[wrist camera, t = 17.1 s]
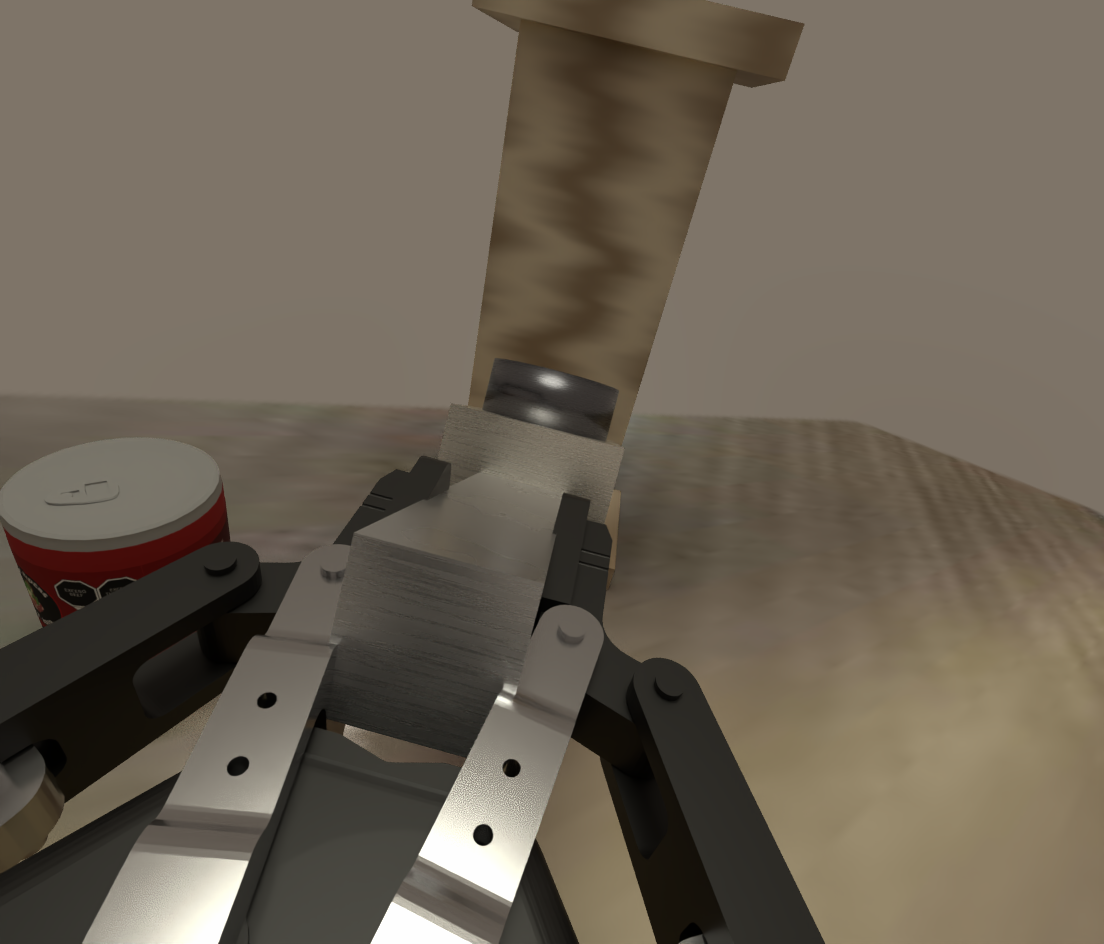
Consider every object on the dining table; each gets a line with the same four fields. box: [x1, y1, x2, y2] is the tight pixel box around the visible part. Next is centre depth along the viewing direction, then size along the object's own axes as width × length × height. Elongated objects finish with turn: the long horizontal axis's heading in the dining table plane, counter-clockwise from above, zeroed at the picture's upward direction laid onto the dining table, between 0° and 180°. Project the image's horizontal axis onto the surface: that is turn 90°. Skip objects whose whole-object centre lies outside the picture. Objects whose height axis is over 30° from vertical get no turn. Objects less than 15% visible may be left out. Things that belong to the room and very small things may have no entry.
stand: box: [468, 0, 804, 590], centre depth 38 cm, size 14×10×33 cm
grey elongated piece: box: [328, 358, 625, 758], centre depth 18 cm, size 6×18×7 cm, turn 170°
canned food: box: [0, 437, 230, 658], centre depth 29 cm, size 8×8×11 cm
